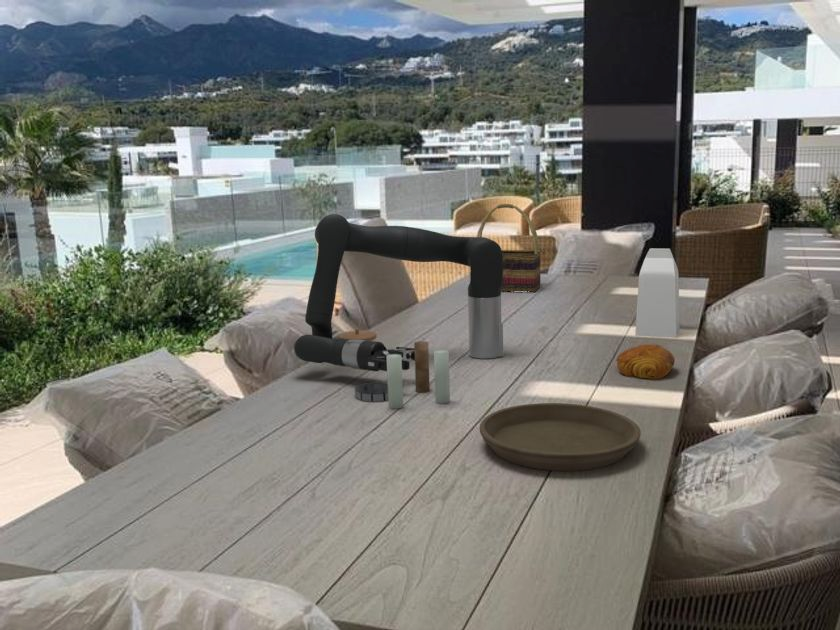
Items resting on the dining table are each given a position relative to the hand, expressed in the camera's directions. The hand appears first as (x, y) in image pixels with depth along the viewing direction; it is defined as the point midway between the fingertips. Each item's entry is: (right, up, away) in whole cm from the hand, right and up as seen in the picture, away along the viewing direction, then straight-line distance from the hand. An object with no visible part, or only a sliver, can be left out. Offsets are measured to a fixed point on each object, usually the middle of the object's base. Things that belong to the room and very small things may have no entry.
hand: (418, 361), depth 205 cm
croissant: (+58, -4, +11) cm, 59 cm away
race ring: (-10, -8, -2) cm, 13 cm away
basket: (+36, +22, +140) cm, 147 cm away
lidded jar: (-17, -2, +31) cm, 36 cm away
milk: (+74, +6, +54) cm, 92 cm away
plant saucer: (+28, -15, -40) cm, 51 cm away
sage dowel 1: (-5, -10, -11) cm, 16 cm away
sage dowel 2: (+6, -9, -9) cm, 14 cm away
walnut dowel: (+1, -7, +1) cm, 7 cm away
